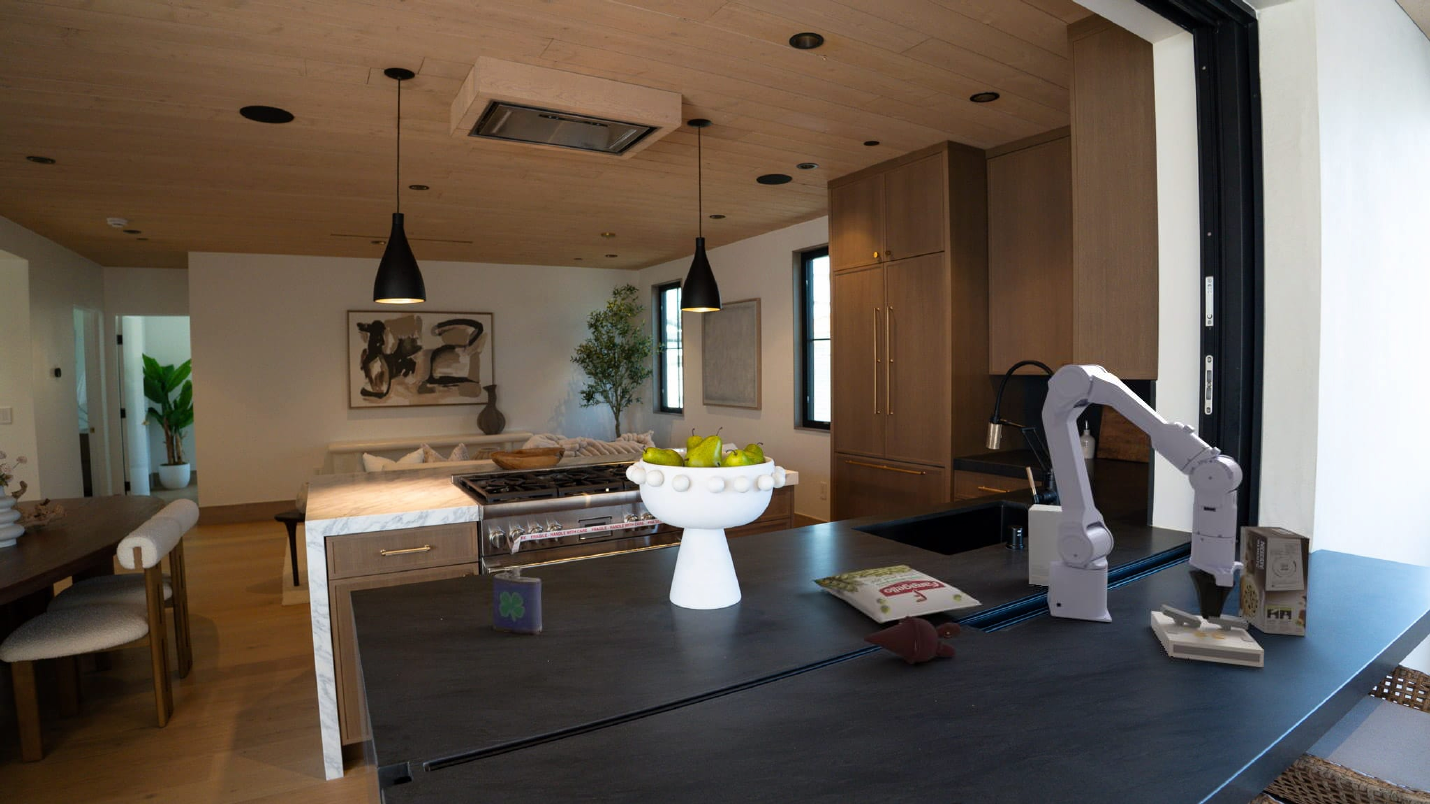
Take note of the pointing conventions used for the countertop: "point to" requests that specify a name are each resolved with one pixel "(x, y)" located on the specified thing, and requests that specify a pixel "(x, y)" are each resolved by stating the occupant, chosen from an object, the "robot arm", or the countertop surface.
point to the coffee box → (1274, 579)
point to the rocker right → (1228, 622)
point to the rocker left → (1180, 616)
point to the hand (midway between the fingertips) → (1209, 618)
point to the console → (1207, 641)
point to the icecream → (916, 639)
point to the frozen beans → (895, 593)
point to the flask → (517, 603)
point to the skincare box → (1042, 541)
